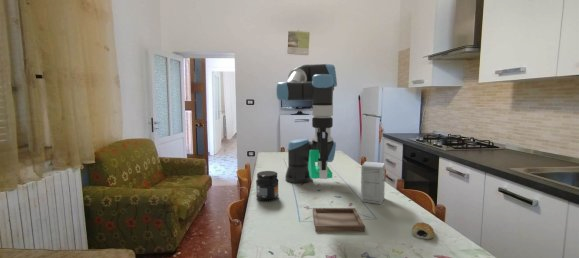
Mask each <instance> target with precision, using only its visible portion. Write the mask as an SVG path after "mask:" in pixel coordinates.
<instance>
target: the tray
mask: <svg viewBox="0 0 579 258" xmlns="http://www.w3.org/2000/svg"><path fill="white" fill-rule="evenodd" d="M312 219H313V224H314V230H315V231H314V232H332V233H333V232H334V233H335V232H340V233H341V232H355V233H356V232H365V230H366V227H365V224H364V222H363V220H362V219H361V216H360V215H359V213H358V211H357V209H356V208H355V207H312Z"/></svg>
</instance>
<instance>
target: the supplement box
mask: <svg viewBox="0 0 579 258" xmlns="http://www.w3.org/2000/svg"><path fill="white" fill-rule="evenodd" d="M385 168H386V163H385V162H374V161H364V163H362V165H361V169H360V170H361V172H360V174H361V177H360V178H361V180H360V187H361V188H360V202H364V203H369V204H378V205H383V203H384V200H385V179H386V178H385V177H386V176H385V175H386V174H385V173H386V169H385Z"/></svg>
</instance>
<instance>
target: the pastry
mask: <svg viewBox="0 0 579 258" xmlns="http://www.w3.org/2000/svg"><path fill="white" fill-rule="evenodd" d="M411 235H412V236H413V237H415V238H419V239H424V240H432V239H433V238H434V237H435V231H434V229H433V227H432V226H431V225H430V224H429V223H428V224H427V222H426V223H425V222H417V223H415V224H414V225H413V226H412V228H411Z"/></svg>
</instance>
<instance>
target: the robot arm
mask: <svg viewBox="0 0 579 258" xmlns="http://www.w3.org/2000/svg"><path fill="white" fill-rule="evenodd" d="M337 80H338V79H337V72H336V67H335V65H334V64H328V63H324V64H322V63H321V64H319V63H317V64H303V65H299V66H297V67H294V68H293V69H291V70H290V72H289V73H288V77H287V80H286V81H281V82H278V83H277V84H276V98H277V100H279V101H283V102H284V101H285V102H288V101H291V102H293V101H295V102H296V101H312V102H311V103H312V107H310V111H312V116H313V117H312V119H311V121H312V122H311V127H312V128H314V136H313V137H312V139H311V141H310V140H309V139H308V138H297V139H293V140H290V141H289V142H288V144H287V145H288V148H287V150H288V151H287V152H288V160H287V163H288V164H287V169H286V172H285V177H284V179H285V181H286V182H288V183H293V184H304V183H305V184H306V183H308V182H309V183H310V182H311V181H312V179H313V178H310V176H309V170H308V164H309V151H310V150H319V158H318V161H315V163H317V166H320V167H319V178H318V179H320V180H327V179H328V178H327V166H328V163H332V162H333V161H334V160H335V159H334V158H335V156H336V155H335V154H336V149H337V148H336V147H337V145H336V144H337V143H336V141H334V137H332V135H331V134H332V133H331V132H332V131H331V129H332V127H333V123H334V121H333V120H334V119H333V115H334V104H333V103H334V102H333V99H334V90H335V87H337V86H338V83H337V82H338V81H337Z"/></svg>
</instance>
